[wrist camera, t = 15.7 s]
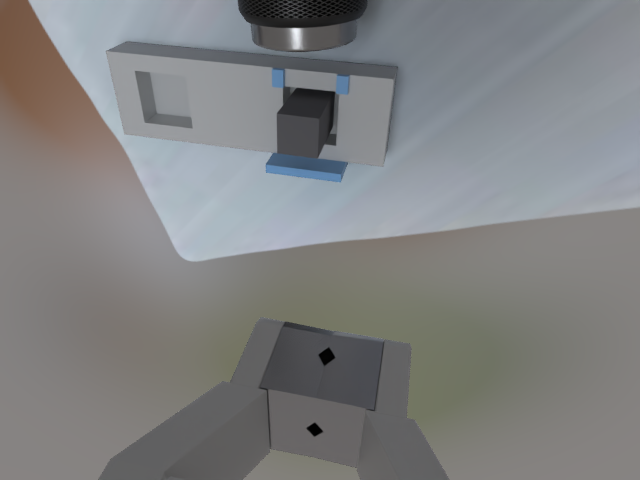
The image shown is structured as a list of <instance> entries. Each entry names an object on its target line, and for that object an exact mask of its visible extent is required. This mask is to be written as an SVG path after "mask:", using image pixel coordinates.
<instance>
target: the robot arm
mask: <svg viewBox="0 0 640 480" xmlns="http://www.w3.org/2000/svg"><path fill="white" fill-rule="evenodd" d="M410 363H411V345H410V344H408V343H403V342H397V341H391V340H384V339H381V338H375V337H368V336H363V335H357V334H351V333H344V332H339V331H330V330H325V329H320V328H315V327H310V326H305V325H300V324H295V323H290V322H284V321H279V320H273V319H268V318H263V317H261V318H260V319H259V320H258V321H257V322H256V324H255V327H254V329H253V331H252V333H251V336H250V338H249V340H248V342H247V345H246V347H245V349H244V352H243V354H242V356H241V358H240V361H239V363H238V365H237V367H236V370H235V372H234V374H233V376H232V379H231V381H230V382H224V381H222V382H221V383H219V384H218V385H216V386H215V387H213V388H212V389H210V390H209V391H208V392H206V393H205V394H203V395H202V396H200V397H199V398H198V399H196V400H195V401H193V402H192V403H190V404H189V405H187V406H186V407H185V408H183V409H182V410H180V411H179V412H177V413H176V414H175V415H173V416H172V417H170V418H169V419H167V420H166V421H164V422H163V423H162V424H160V425H159V426H157V427H156V428H154V429H153V430H152V431H150V432H149V433H147V434H146V435H144V436H143V437H141V438H140V439H139V440H137V441H136V442H134V443H133V444H131V445H130V446H129V447H127V448H126V449H124V450H123V451H121V452H120V453H119V454H117V455H116V456H114V457H113V458H111V459H110V461H109V462H108V464H107V466H106V467H105V469H104V471H103V472H102V474H101V476H100V477H99V479H98V480H243V478H244V477H246V475H248V474H249V473H250V471H252V470H253V469H254V468H255V467H256V465H258V463H259V462H260V461H261V460H262V459H263V458H264V457H265V456H266V455H267V454H268V453H269V452H270V449H273V450H278V451H283V452H289V453H294V454H299V455H304V456H310V457H315V458H318V459H323V460H327V461H331V462H335V463H339V464H343V465H347V466H351V467H355V468H357V472H358V474H359V477H360V480H449V478H448V476H447V474H446V473H445V471H444V469H443V468H442V466H441V464H440V462H439V461H438V459H437V457H436V455H435V454H434V452H433V450H432V449H431V447H430V445H429V443H428V442H427V440H426V438H425V436H424V435H423V433H422V431H421V430H420V428H419V426H418V424H417V423H416V421H415V420H414V419H409V418H407V406H408V392H409V377H410Z"/></svg>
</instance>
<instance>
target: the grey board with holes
mask: <svg viewBox="0 0 640 480" xmlns="http://www.w3.org/2000/svg"><path fill="white" fill-rule="evenodd" d="M106 54H107V59H108V63H109V68H110V72H111V77H112V81H113V86H114V90H115V94H116V99H117V103H118V108H119V112H120V117H121V121H122V126H123V130H124V134H127V135H135V136H143V137H151V138H159V139H167V140H175V141H182V142H190V143H198V144H206V145H214V146H222V147H230V148H238V149H246V150H254V151H262V152H270V153H273V154H272V156H271V157H270V159H269V160H268V162H267V163H266V173H274V174H282V175H289V176H297V177H304V178H312V179H320V180H327V181H335V182H341V180H342V177H343V175H344V172H345V169H346V166H347V164H348V162H350V163H358V164H366V165H374V166H382V167H383V166H384V161H385V157H386V152H387V146H388V138H389V130H390V122H391V114H392V106H393V98H394V90H395V82H396V74H397V67H390V66H379V65H369V64H358V63H347V62H337V61H326V60H315V59H305V58H294V57H283V56H273V55H262V54H251V53H241V52H230V51H220V50H209V49H198V48H188V47H177V46H166V45H156V44H145V43H134V42H125V43H122V44H120V45H118V46H116V47H114V48H112V49H110V50H107V51H106ZM296 88H306V89H316V90H326V91H335V103H334V120H333V128H332V130H331V132H330V134H329V136H328V138H327V140H326V142H325V144H324V147H323V149H322V151H321V153H320V155H319V157H318V159H316V158H308V157H300V156H293V155H285V154H278V153H277V112H278V111H279V110H280V109H281V107H282V106H283V105H284V103H285V102H286V101H287V99H288V98H289V97H290V95H291V94H292V93H293V92H294V90H295V89H296Z"/></svg>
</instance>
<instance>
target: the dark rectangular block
mask: <svg viewBox="0 0 640 480" xmlns="http://www.w3.org/2000/svg"><path fill="white" fill-rule="evenodd" d="M334 103H335V91H326V90H316V89H306V88H296V89H295V90H294V92H293V93H292V94H291V95H290V97H289V98H288V99H287V101H286V102H285V103H284V105H283V106H282V107H281V109H280V110H279V111H278V112H277V153H278V154H285V155H293V156H300V157H308V158H316V159H318V157H319V155H320V153H321V151H322V149H323V147H324V144H325V142H326V140H327V138H328V136H329V134H330V132H331V130H332V128H333V120H334Z"/></svg>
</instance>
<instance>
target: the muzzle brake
mask: <svg viewBox="0 0 640 480" xmlns="http://www.w3.org/2000/svg"><path fill="white" fill-rule="evenodd" d="M238 6H239V11H240V13H241V14H242V16H243V17H244V19H245V20H246V21H247V22H249V23H251V31H252V40H253V42H254V43H255V44H256V45H258V46H260V47H263V48H266V49H270V50H276V51H285V52H308V51H319V50H326V49H332V48H336V47H340V46H343V45H346V44H348V43H350V42H352V41H353V40H354V39H355V38H356V30H357V19H358V18H360V17H361V16H362V14H363V13H364V11H365V9H366V6H367V0H238Z"/></svg>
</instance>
